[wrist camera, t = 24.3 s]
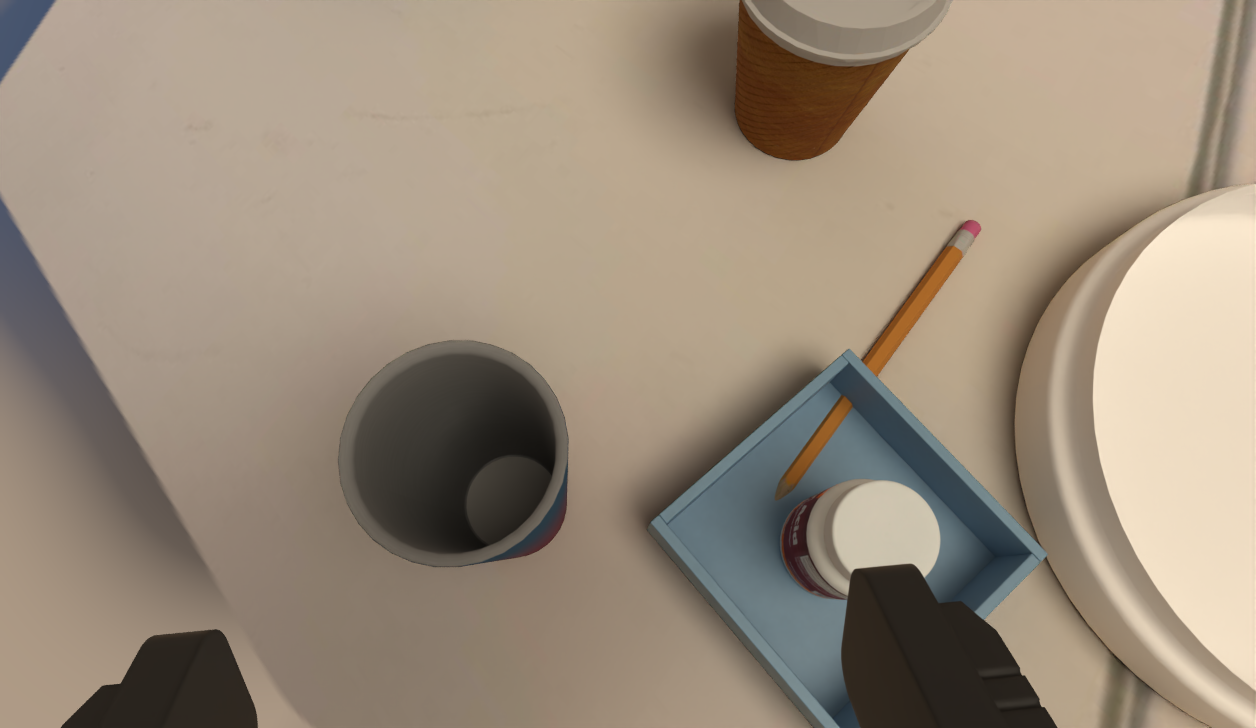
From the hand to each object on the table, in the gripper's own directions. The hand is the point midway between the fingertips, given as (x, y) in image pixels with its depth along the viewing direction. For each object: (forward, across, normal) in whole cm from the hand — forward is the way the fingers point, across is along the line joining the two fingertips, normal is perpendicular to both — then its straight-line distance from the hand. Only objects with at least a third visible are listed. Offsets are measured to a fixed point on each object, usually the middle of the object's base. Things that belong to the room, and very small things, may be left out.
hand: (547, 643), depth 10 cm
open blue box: (+20, -12, +18) cm, 30 cm away
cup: (+23, +3, +16) cm, 28 cm away
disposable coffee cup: (+37, -13, +2) cm, 40 cm away
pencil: (+27, -15, +12) cm, 33 cm away
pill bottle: (+20, -12, +18) cm, 29 cm away
